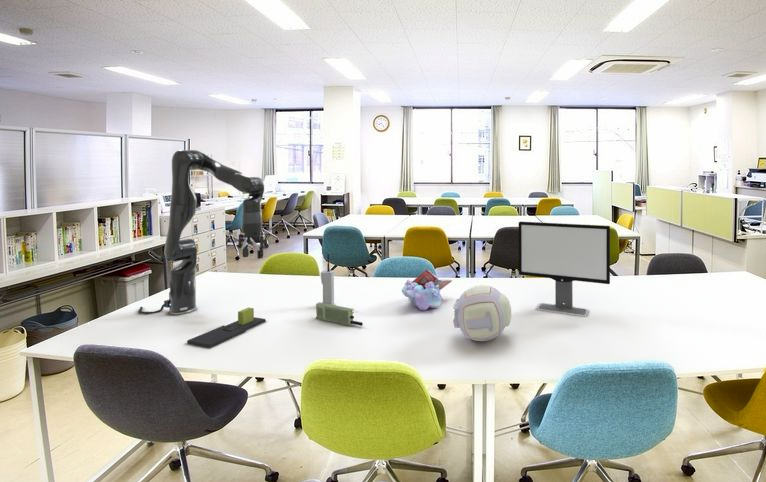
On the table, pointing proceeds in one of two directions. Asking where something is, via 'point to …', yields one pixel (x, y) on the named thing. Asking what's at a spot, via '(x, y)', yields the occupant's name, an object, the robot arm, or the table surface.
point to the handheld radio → (336, 314)
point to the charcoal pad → (215, 337)
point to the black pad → (246, 326)
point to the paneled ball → (482, 313)
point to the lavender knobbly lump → (425, 290)
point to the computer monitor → (564, 258)
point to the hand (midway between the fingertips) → (252, 257)
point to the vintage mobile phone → (328, 285)
